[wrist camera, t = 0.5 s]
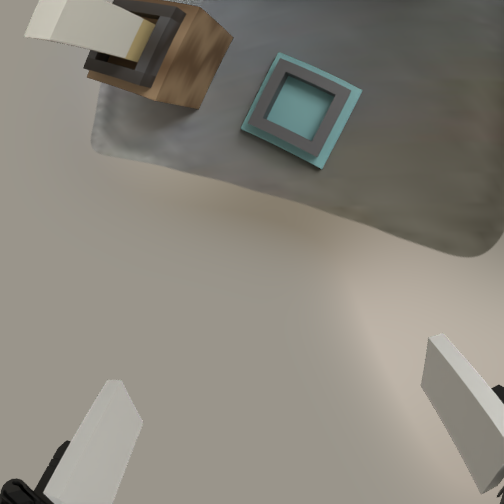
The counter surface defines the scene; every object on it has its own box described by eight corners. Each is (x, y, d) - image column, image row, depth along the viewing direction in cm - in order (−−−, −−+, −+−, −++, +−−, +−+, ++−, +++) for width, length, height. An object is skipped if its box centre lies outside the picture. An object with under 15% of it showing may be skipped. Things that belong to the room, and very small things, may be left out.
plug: (131, 22, 23) (44, -11, 12) (160, 27, 23) (74, -13, 12) (115, 56, 24) (23, 36, 13) (143, 64, 24) (49, 39, 13)
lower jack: (280, 54, 30) (275, 46, 27) (361, 91, 29) (364, 87, 27) (243, 129, 34) (235, 127, 31) (322, 168, 33) (321, 170, 31)
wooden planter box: (167, 20, 31) (112, -10, 20) (233, 37, 30) (191, -1, 19) (137, 86, 35) (74, 75, 24) (198, 109, 34) (143, 98, 23)
